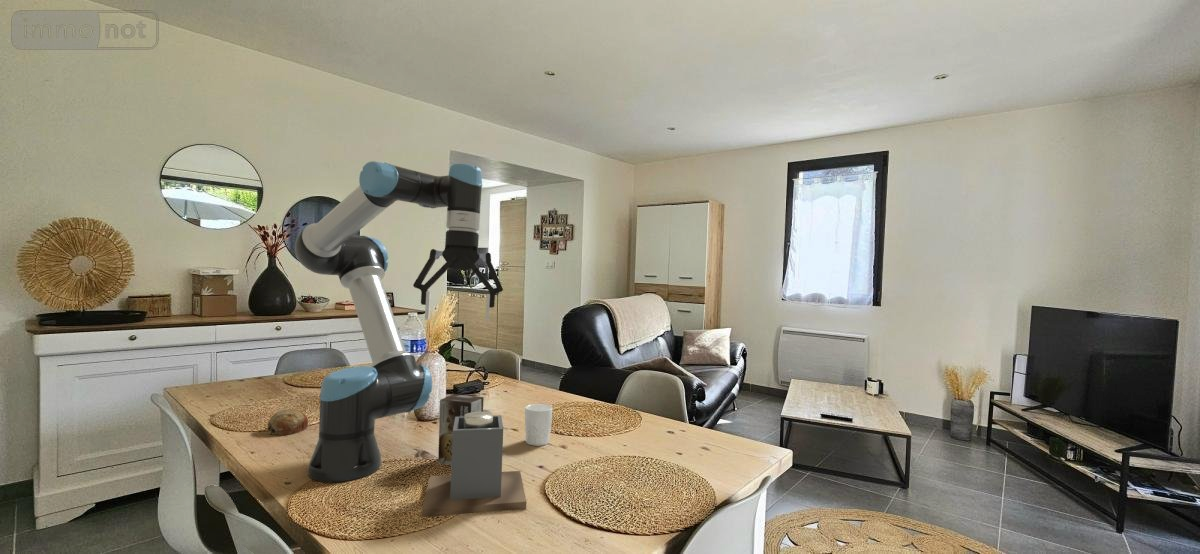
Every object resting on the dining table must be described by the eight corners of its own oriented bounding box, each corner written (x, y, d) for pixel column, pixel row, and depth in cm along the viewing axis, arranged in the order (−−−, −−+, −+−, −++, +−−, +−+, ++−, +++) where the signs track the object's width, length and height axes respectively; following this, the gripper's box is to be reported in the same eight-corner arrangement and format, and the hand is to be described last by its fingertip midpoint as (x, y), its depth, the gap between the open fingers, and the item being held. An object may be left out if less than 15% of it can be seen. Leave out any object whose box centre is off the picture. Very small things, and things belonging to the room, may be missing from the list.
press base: (421, 517, 91) (421, 509, 91) (429, 482, 107) (430, 476, 107) (526, 509, 96) (526, 501, 96) (519, 477, 112) (520, 470, 112)
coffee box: (482, 459, 122) (485, 396, 122) (469, 468, 116) (471, 402, 116) (451, 455, 124) (453, 393, 125) (436, 463, 118) (439, 398, 118)
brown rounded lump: (264, 443, 138) (253, 421, 135) (293, 420, 147) (284, 399, 144) (290, 448, 135) (280, 426, 132) (319, 423, 144) (310, 402, 141)
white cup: (549, 447, 133) (550, 411, 133) (521, 446, 133) (522, 410, 133) (552, 438, 141) (554, 404, 141) (526, 437, 141) (527, 403, 141)
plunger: (456, 495, 97) (459, 421, 97) (458, 480, 104) (460, 411, 105) (494, 493, 99) (497, 419, 99) (493, 478, 106) (496, 410, 106)
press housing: (450, 500, 95) (452, 430, 96) (452, 480, 105) (455, 416, 105) (500, 496, 98) (503, 428, 98) (498, 477, 108) (501, 415, 108)
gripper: (403, 225, 106) (398, 319, 106) (516, 233, 112) (511, 323, 112) (409, 228, 114) (404, 316, 114) (515, 235, 119) (510, 320, 119)
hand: (457, 320), depth 113 cm, fingers open, 13 cm apart
